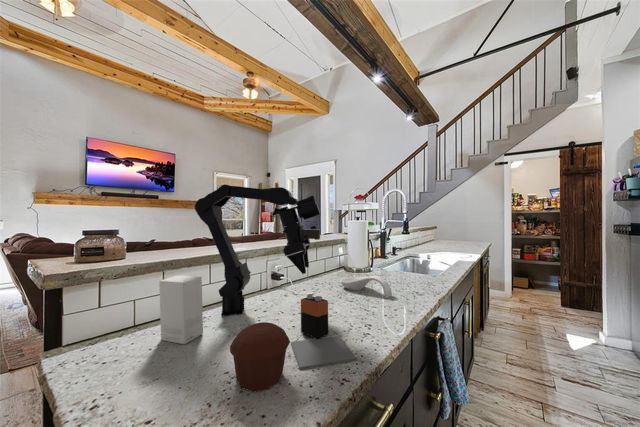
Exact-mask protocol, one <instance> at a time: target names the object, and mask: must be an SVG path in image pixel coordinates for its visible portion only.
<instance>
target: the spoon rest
mask: <svg viewBox="0 0 640 427" xmlns="http://www.w3.org/2000/svg"><path fill="white" fill-rule="evenodd" d="M339 281H340V284H341V285H342V286H343V287H344V288H346V289H348V290H350V291H361V290H362V289H364V287H366V286H367V284H368V283H369V282H371V281H376V282H378V283H379V284H380V286H382V289H383V294H384V296H383V297H384V298H385V299H388V298H390V297H392V296H393V293H392V288H391V286H390V284H389V282H387V281H386V280H385V279H384V278H383V277H380V276H377V275H371V276H368V277H360V276H359V277H357V276H356V277H346V278H345V277H344V278H342V279H340V280H339Z"/></svg>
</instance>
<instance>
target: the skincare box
mask: <svg viewBox="0 0 640 427" xmlns="http://www.w3.org/2000/svg"><path fill="white" fill-rule="evenodd" d="M158 282H159V314H160V315H159V316H160V317H159V318H160V341H165V342H171V343H176V344H180V345H187V344H188V343H189V342H191V341H193V340H195V339H196V338H198V337H200V336H201V335H203V334H204V320H203V319H204V318H203V315H204V314H203V277H202V276H197V275H181V274H179V275H174V276H171V277H169V278H165V279H162V280H159V281H158Z"/></svg>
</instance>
